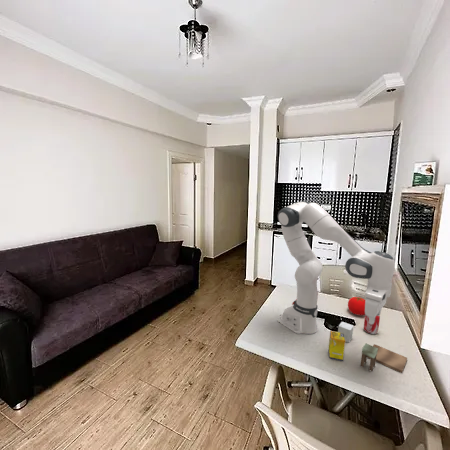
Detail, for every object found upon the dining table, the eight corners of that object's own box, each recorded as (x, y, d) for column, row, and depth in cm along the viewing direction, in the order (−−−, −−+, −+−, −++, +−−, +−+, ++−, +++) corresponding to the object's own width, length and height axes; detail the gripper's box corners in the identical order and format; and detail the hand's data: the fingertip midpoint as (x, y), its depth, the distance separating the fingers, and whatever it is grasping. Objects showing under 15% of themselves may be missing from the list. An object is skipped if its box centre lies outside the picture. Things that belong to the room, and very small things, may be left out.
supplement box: (327, 350, 124) (330, 330, 122) (341, 353, 122) (343, 332, 120) (329, 358, 118) (331, 337, 116) (343, 361, 116) (345, 340, 114)
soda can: (379, 336, 136) (382, 315, 134) (365, 334, 138) (368, 314, 136) (374, 328, 143) (377, 309, 141) (361, 327, 145) (364, 307, 143)
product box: (349, 343, 130) (350, 330, 129) (336, 338, 134) (338, 325, 132) (352, 337, 134) (353, 325, 133) (340, 333, 138) (341, 321, 137)
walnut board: (366, 357, 119) (367, 355, 119) (373, 346, 128) (374, 343, 128) (401, 373, 110) (402, 371, 110) (407, 360, 118) (407, 357, 118)
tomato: (351, 317, 155) (353, 301, 153) (344, 307, 167) (346, 292, 165) (370, 319, 153) (372, 303, 152) (362, 309, 165) (364, 294, 164)
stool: (359, 365, 114) (362, 348, 112) (363, 360, 117) (365, 343, 116) (372, 371, 110) (374, 353, 109) (375, 366, 114) (377, 348, 112)
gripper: (376, 280, 117) (373, 308, 119) (363, 294, 103) (359, 324, 105) (392, 284, 113) (388, 313, 115) (381, 299, 98) (376, 331, 101)
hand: (374, 318), depth 110 cm, fingers open, 8 cm apart
